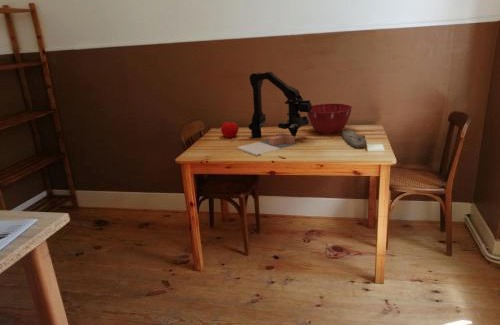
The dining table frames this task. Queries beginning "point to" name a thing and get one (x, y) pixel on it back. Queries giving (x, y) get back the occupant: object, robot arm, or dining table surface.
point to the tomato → (229, 129)
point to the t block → (282, 139)
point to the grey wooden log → (354, 138)
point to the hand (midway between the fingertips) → (293, 137)
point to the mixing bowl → (329, 117)
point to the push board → (262, 147)
